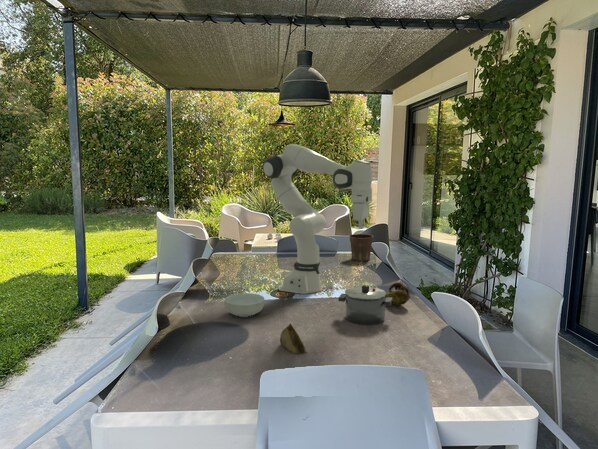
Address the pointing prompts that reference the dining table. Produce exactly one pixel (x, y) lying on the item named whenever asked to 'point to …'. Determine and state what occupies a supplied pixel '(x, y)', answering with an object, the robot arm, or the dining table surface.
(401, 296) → the potato
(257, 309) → the cereal bowl
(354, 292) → the lid
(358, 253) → the plant pot
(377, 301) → the pot
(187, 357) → the dining table surface
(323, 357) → the dining table surface
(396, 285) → the pottery mug
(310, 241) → the robot arm
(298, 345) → the rock
